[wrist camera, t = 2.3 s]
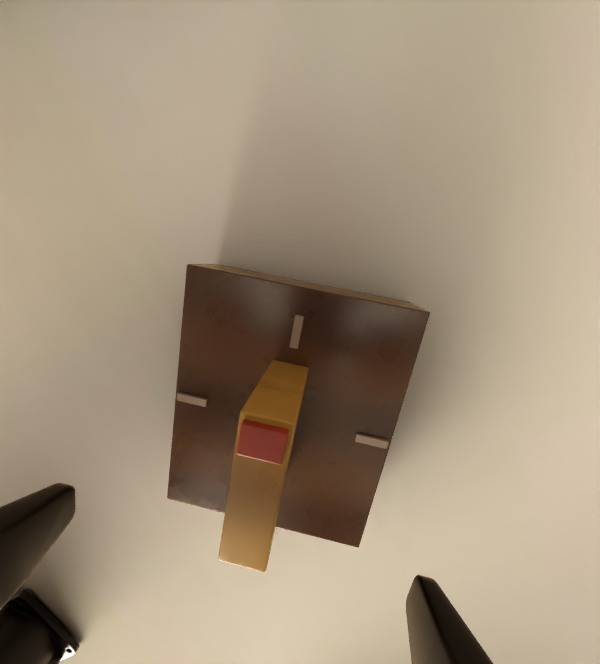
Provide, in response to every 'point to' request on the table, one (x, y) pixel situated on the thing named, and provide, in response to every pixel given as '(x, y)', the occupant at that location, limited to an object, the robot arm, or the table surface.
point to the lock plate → (318, 399)
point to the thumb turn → (261, 465)
